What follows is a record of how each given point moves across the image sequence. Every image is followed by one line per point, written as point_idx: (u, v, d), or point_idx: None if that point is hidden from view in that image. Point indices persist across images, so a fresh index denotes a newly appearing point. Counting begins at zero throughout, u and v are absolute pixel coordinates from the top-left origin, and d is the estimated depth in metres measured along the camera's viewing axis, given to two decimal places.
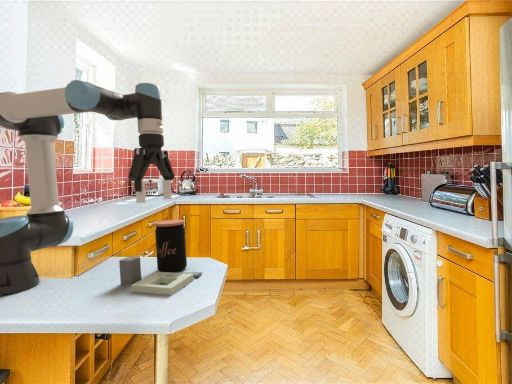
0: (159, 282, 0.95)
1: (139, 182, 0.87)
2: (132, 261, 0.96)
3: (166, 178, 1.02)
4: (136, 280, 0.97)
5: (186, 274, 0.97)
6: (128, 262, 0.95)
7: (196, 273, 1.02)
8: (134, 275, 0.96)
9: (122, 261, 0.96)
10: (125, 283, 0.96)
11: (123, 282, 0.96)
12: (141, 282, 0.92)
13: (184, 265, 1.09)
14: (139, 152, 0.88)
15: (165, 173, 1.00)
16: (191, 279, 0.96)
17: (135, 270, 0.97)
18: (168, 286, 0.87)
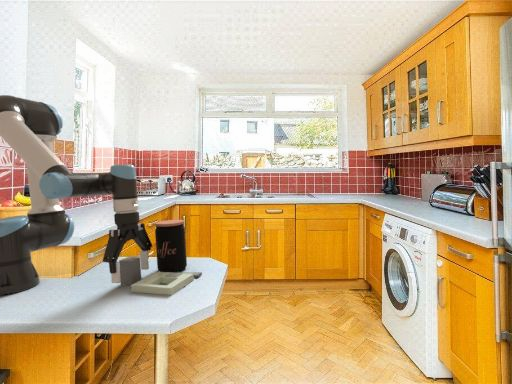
0: (159, 282, 0.95)
1: (114, 264, 0.90)
2: (132, 261, 0.96)
3: (143, 249, 1.05)
4: (136, 280, 0.97)
5: (186, 274, 0.97)
6: (128, 262, 0.95)
7: (196, 273, 1.02)
8: (134, 275, 0.96)
9: (122, 261, 0.96)
10: (125, 283, 0.96)
11: (123, 282, 0.96)
12: (141, 282, 0.92)
13: (184, 265, 1.09)
14: (113, 234, 0.91)
15: (142, 245, 1.03)
16: (191, 279, 0.96)
17: (135, 270, 0.97)
18: (168, 286, 0.87)
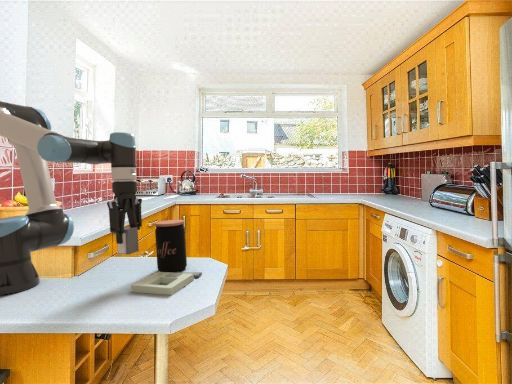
0: (159, 282, 0.95)
1: (120, 235, 0.94)
2: (129, 230, 0.95)
3: None
4: (133, 250, 0.97)
5: (186, 274, 0.97)
6: (125, 231, 0.95)
7: (196, 273, 1.02)
8: (131, 244, 0.96)
9: None
10: None
11: None
12: (141, 282, 0.92)
13: (184, 265, 1.09)
14: (112, 207, 0.91)
15: (133, 221, 0.99)
16: (191, 279, 0.96)
17: (133, 240, 0.97)
18: (168, 286, 0.87)
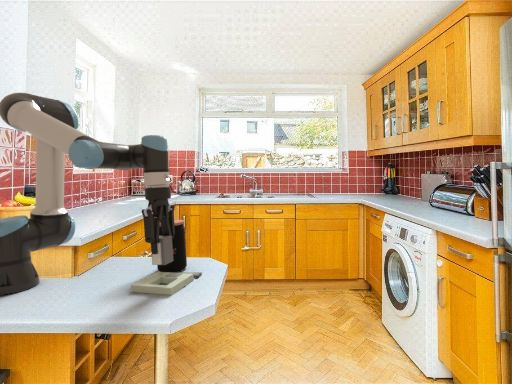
0: (159, 282, 0.95)
1: (155, 245, 0.88)
2: (164, 239, 0.89)
3: None
4: (168, 260, 0.91)
5: (186, 274, 0.97)
6: (160, 240, 0.89)
7: (196, 273, 1.02)
8: (166, 254, 0.90)
9: None
10: None
11: None
12: (141, 282, 0.92)
13: (184, 265, 1.09)
14: (147, 215, 0.85)
15: (166, 229, 0.93)
16: (191, 279, 0.96)
17: (168, 249, 0.91)
18: (168, 286, 0.87)
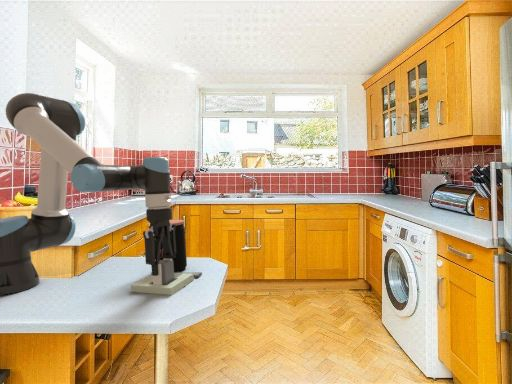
0: None
1: (156, 266, 0.88)
2: (166, 265, 0.90)
3: (167, 256, 0.95)
4: None
5: (186, 274, 0.97)
6: (162, 266, 0.89)
7: (196, 273, 1.02)
8: (168, 279, 0.90)
9: None
10: None
11: None
12: (141, 282, 0.92)
13: (184, 265, 1.09)
14: (148, 237, 0.85)
15: (168, 249, 0.94)
16: (191, 279, 0.96)
17: (169, 275, 0.91)
18: (168, 286, 0.87)
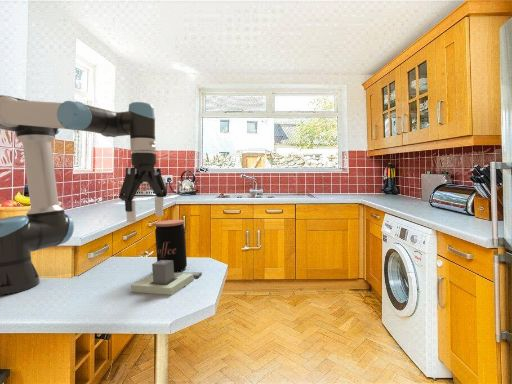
0: None
1: (129, 202, 0.87)
2: (166, 265, 0.90)
3: (158, 195, 1.02)
4: None
5: (186, 274, 0.97)
6: (162, 266, 0.89)
7: (196, 273, 1.02)
8: (168, 279, 0.90)
9: (155, 265, 0.90)
10: None
11: None
12: (141, 282, 0.92)
13: (184, 265, 1.09)
14: (130, 172, 0.88)
15: (157, 190, 1.00)
16: (191, 279, 0.96)
17: (169, 275, 0.91)
18: (168, 286, 0.87)
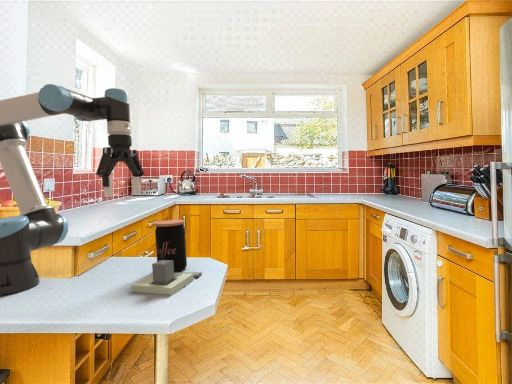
0: None
1: (106, 178, 0.96)
2: (166, 265, 0.90)
3: (135, 175, 1.11)
4: None
5: (186, 274, 0.97)
6: (162, 266, 0.89)
7: (196, 273, 1.02)
8: (168, 279, 0.90)
9: (155, 265, 0.90)
10: None
11: None
12: (141, 282, 0.92)
13: (184, 265, 1.09)
14: (106, 151, 0.97)
15: (134, 170, 1.09)
16: (191, 279, 0.96)
17: (169, 275, 0.91)
18: (168, 286, 0.87)
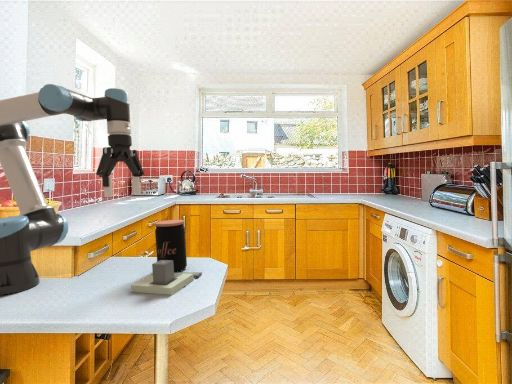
0: None
1: (106, 178, 0.96)
2: (166, 265, 0.90)
3: (135, 175, 1.11)
4: None
5: (186, 274, 0.97)
6: (162, 266, 0.89)
7: (196, 273, 1.02)
8: (168, 279, 0.90)
9: (155, 265, 0.90)
10: None
11: None
12: (141, 282, 0.92)
13: (184, 265, 1.09)
14: (106, 151, 0.97)
15: (134, 170, 1.09)
16: (191, 279, 0.96)
17: (169, 275, 0.91)
18: (168, 286, 0.87)
